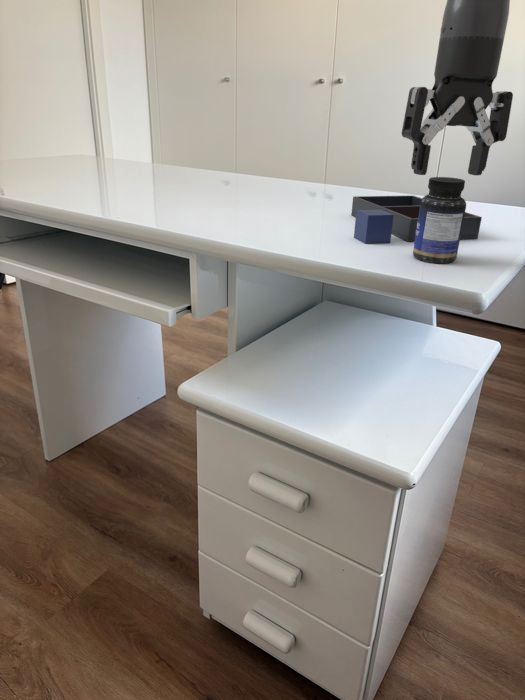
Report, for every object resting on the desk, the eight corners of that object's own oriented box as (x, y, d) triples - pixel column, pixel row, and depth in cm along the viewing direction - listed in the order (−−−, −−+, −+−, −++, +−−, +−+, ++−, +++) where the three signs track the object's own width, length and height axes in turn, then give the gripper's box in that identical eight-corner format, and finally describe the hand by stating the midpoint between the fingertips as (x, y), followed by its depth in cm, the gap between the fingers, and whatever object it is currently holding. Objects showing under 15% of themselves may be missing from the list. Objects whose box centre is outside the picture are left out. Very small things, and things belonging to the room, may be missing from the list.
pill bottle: (417, 250, 81) (429, 174, 76) (459, 256, 79) (474, 178, 74) (407, 260, 76) (419, 179, 71) (451, 266, 74) (467, 183, 69)
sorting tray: (410, 213, 109) (413, 195, 107) (477, 238, 90) (482, 217, 88) (351, 215, 106) (352, 196, 104) (407, 241, 86) (410, 219, 85)
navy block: (377, 236, 89) (381, 209, 87) (390, 242, 85) (394, 214, 84) (353, 237, 88) (356, 210, 86) (365, 243, 84) (368, 215, 82)
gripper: (437, 29, 60) (415, 178, 67) (541, 38, 64) (510, 178, 71) (404, 35, 67) (387, 171, 74) (500, 43, 71) (475, 171, 78)
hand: (447, 174), depth 72 cm, fingers open, 8 cm apart
